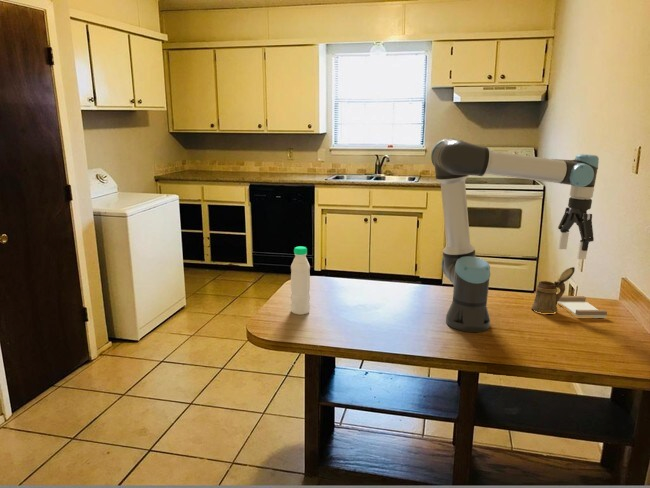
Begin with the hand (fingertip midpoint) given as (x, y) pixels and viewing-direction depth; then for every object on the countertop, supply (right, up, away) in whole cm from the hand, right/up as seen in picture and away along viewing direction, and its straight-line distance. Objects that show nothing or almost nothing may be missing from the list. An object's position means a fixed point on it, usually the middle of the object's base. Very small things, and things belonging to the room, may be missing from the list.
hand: (571, 253), depth 184 cm
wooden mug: (-6, -22, +5) cm, 24 cm away
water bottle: (-102, -22, 0) cm, 104 cm away
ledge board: (+6, -22, +6) cm, 24 cm away
